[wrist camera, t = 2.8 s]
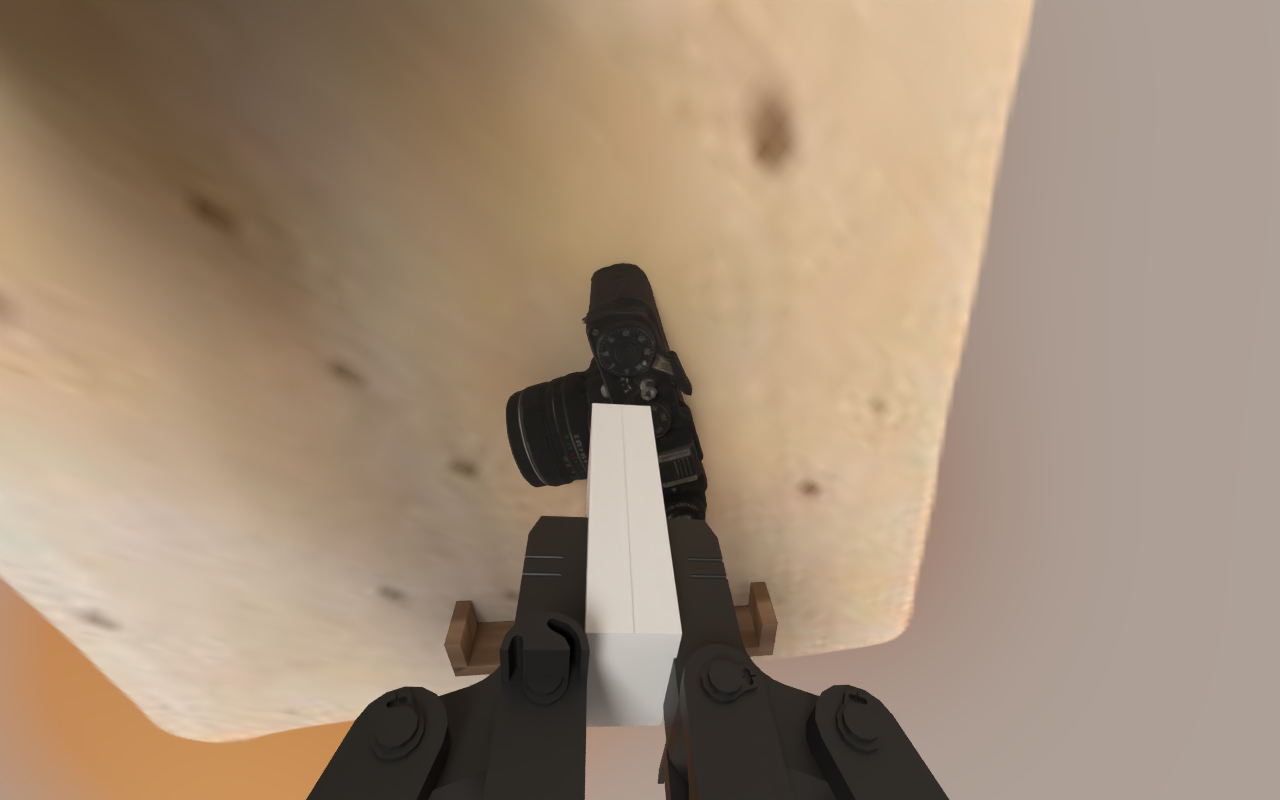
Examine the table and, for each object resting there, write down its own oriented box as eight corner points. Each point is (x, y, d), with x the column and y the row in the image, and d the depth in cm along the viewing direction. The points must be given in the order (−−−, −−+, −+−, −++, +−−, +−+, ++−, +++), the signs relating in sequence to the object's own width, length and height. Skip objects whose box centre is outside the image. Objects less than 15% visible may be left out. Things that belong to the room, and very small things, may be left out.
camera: (481, 296, 32) (435, 378, 23) (656, 249, 31) (675, 317, 22) (558, 473, 39) (544, 586, 30) (702, 439, 38) (729, 545, 29)
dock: (456, 601, 45) (444, 644, 42) (764, 582, 46) (777, 622, 43) (466, 632, 47) (455, 676, 44) (760, 613, 48) (772, 654, 45)
